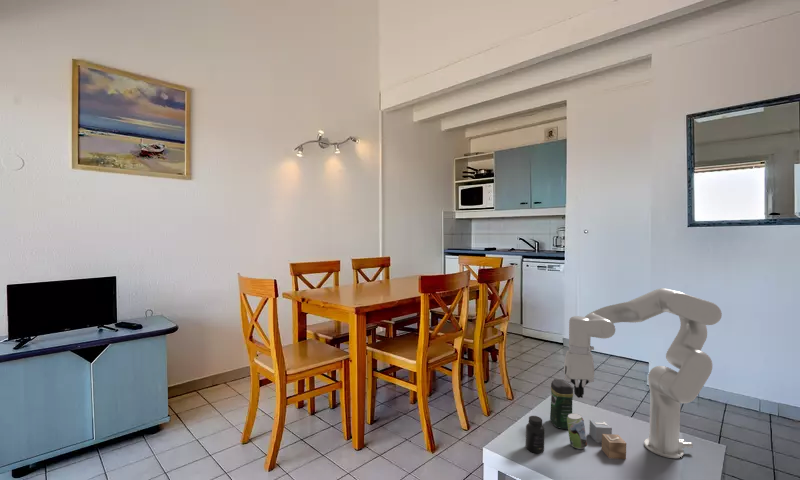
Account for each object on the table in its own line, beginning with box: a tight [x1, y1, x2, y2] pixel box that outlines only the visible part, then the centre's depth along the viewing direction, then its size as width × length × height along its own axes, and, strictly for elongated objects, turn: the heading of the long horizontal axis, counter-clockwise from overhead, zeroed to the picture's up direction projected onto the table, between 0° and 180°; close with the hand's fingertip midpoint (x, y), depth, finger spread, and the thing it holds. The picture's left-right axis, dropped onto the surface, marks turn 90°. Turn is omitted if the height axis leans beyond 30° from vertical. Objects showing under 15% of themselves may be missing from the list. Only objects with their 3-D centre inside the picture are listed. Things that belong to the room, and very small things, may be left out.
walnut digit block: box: [601, 433, 627, 460], centre depth 144 cm, size 6×6×6 cm
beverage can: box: [567, 412, 588, 450], centre depth 149 cm, size 6×7×12 cm
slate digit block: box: [588, 419, 613, 443], centre depth 155 cm, size 6×6×6 cm
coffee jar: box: [549, 378, 574, 430], centre depth 166 cm, size 10×8×19 cm
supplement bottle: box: [524, 415, 546, 455], centre depth 146 cm, size 7×7×12 cm
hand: (578, 396), depth 149 cm, fingers closed
